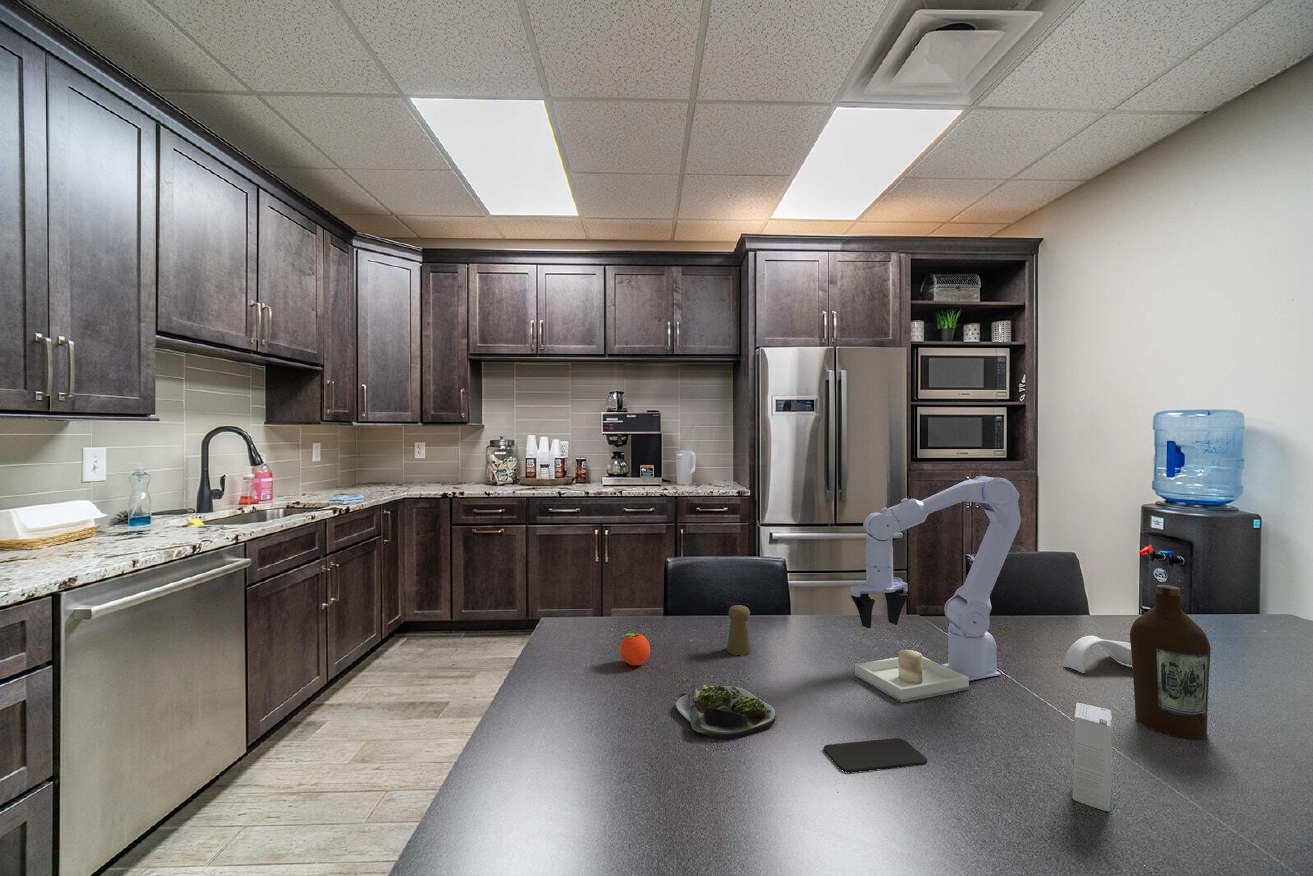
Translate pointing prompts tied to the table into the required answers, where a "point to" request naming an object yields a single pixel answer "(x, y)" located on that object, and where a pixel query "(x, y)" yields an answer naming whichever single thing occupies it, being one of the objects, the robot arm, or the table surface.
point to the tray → (933, 684)
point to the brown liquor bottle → (1170, 668)
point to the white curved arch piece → (1082, 646)
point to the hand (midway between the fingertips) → (879, 625)
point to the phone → (874, 755)
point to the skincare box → (1092, 756)
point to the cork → (739, 631)
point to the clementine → (635, 649)
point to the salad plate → (725, 711)
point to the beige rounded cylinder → (910, 666)
